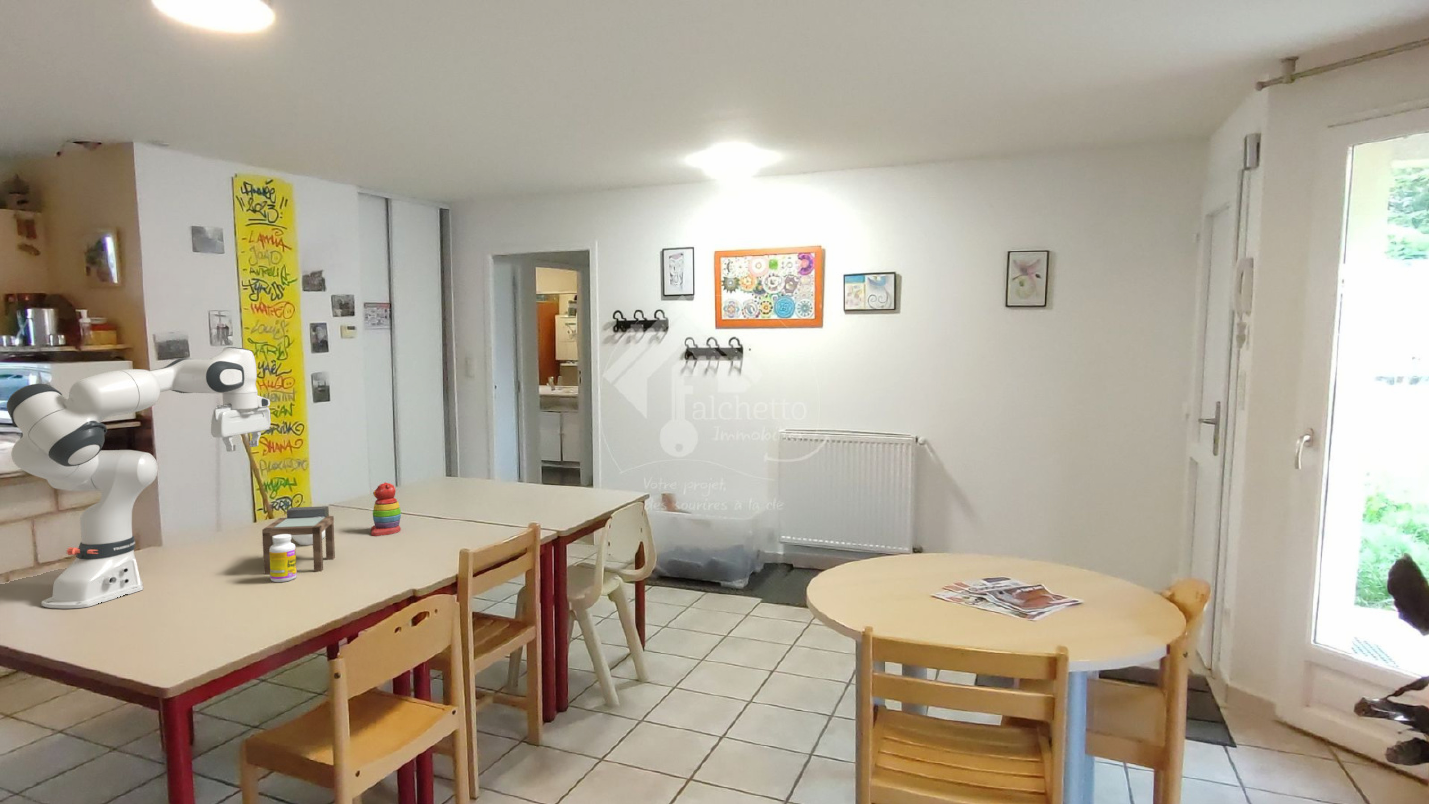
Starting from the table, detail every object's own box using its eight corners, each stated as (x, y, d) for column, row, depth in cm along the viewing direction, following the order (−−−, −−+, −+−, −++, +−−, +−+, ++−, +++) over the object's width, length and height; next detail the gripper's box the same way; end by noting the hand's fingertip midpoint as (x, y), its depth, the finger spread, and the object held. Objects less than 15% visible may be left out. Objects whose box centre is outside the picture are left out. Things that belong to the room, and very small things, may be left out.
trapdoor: (291, 526, 243) (291, 507, 242) (329, 524, 245) (328, 506, 245) (274, 538, 228) (273, 519, 227) (314, 536, 230) (313, 517, 230)
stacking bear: (370, 529, 278) (369, 481, 277) (400, 526, 283) (399, 479, 281) (371, 536, 269) (369, 487, 267) (402, 533, 273) (400, 484, 271)
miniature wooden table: (281, 560, 240) (279, 518, 239) (335, 557, 243) (333, 515, 242) (264, 574, 226) (262, 529, 225) (321, 571, 229) (319, 527, 228)
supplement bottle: (289, 582, 218) (287, 539, 217) (266, 583, 218) (263, 539, 217) (301, 575, 225) (299, 532, 224) (278, 575, 225) (276, 533, 224)
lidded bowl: (338, 538, 266) (337, 507, 265) (315, 548, 254) (314, 515, 253) (304, 537, 268) (303, 506, 267) (280, 547, 255) (279, 514, 254)
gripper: (224, 405, 214) (226, 454, 215) (273, 399, 234) (275, 444, 235) (203, 405, 214) (205, 454, 216) (254, 399, 235) (256, 443, 236)
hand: (242, 448), depth 226 cm, fingers open, 8 cm apart
